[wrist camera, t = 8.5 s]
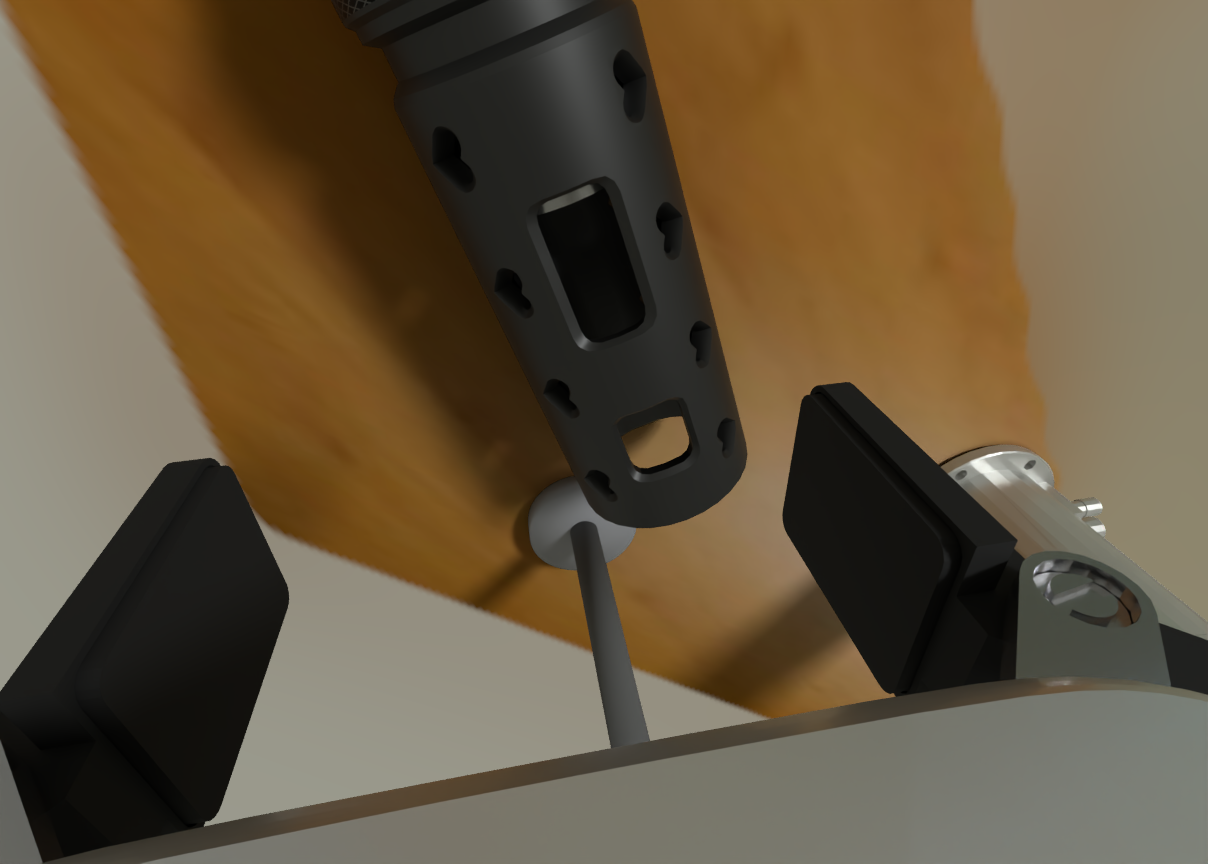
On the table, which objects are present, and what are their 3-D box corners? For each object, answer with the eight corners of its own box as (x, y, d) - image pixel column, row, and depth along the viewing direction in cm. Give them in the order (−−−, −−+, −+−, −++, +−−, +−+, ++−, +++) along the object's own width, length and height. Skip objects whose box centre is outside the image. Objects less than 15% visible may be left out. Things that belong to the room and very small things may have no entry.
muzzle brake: (567, 439, 37) (594, 561, 29) (280, -160, 21) (152, -284, 13) (712, 382, 37) (784, 489, 28) (534, -274, 21) (576, -480, 12)
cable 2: (631, 467, 39) (710, 690, 26) (632, 546, 43) (701, 773, 30) (522, 482, 38) (548, 720, 25) (533, 561, 42) (560, 802, 29)
